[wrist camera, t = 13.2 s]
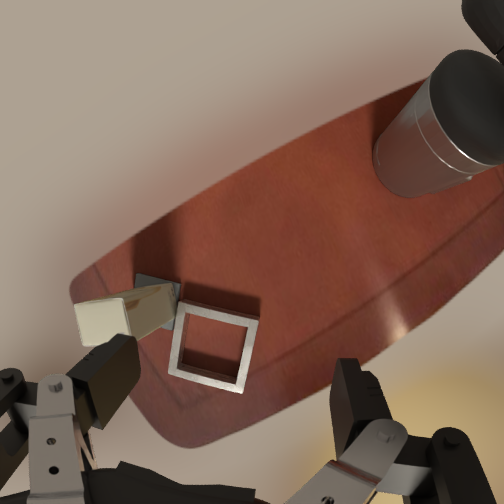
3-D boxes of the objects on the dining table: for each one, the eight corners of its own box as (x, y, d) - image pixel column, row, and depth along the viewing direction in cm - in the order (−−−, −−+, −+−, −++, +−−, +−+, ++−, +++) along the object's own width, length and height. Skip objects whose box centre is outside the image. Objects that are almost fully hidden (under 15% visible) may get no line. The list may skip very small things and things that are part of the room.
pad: (181, 283, 38) (179, 284, 37) (173, 329, 38) (172, 330, 37) (138, 272, 38) (136, 273, 38) (132, 317, 38) (130, 318, 38)
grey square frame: (260, 316, 37) (258, 320, 35) (244, 386, 37) (242, 393, 35) (184, 298, 38) (178, 301, 35) (173, 367, 38) (168, 373, 36)
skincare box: (173, 281, 37) (125, 295, 25) (180, 316, 37) (136, 344, 25) (128, 288, 38) (71, 303, 26) (134, 321, 38) (81, 347, 26)
